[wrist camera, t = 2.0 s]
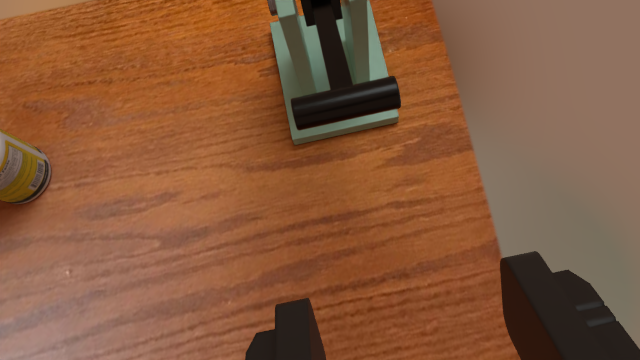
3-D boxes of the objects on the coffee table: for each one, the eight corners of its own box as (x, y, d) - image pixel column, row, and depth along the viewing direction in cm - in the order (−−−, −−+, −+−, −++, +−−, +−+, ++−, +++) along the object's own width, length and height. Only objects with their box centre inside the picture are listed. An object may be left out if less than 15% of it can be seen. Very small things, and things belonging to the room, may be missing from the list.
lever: (402, 121, 27) (399, 82, 25) (300, 143, 27) (290, 107, 25) (358, -11, 35) (353, -48, 33) (279, 7, 35) (270, -28, 33)
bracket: (398, 122, 42) (406, 35, 30) (294, 145, 42) (259, 69, 30) (369, 8, 45) (365, -115, 32) (272, 30, 45) (232, -83, 33)
